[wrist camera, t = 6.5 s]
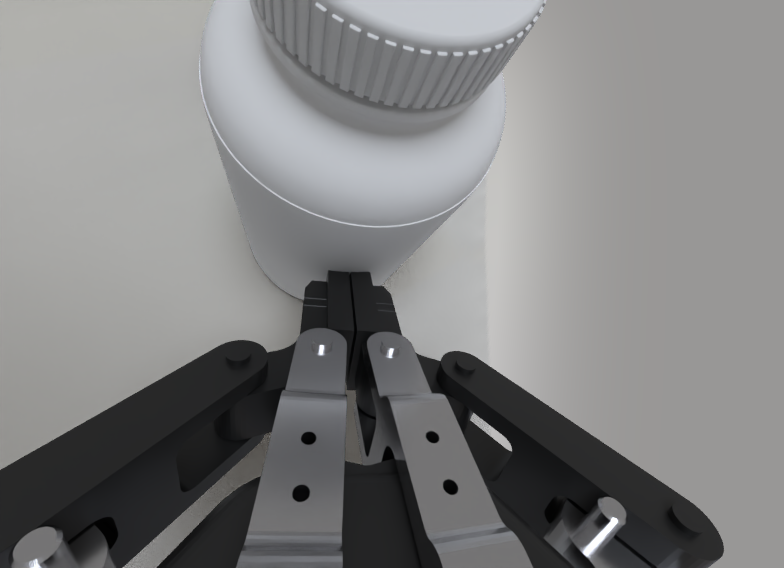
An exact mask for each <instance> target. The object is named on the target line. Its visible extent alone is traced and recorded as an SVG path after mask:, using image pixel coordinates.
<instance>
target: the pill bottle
mask: <svg viewBox="0 0 784 568" xmlns="http://www.w3.org/2000/svg"><path fill="white" fill-rule="evenodd" d="M546 1H547V0H215V1H214V3H213V5H212V7H211V9H210V12H209V14H208V17H207V20H206V23H205V27H204V31H203V36H202V42H201V51H200V59H199V79H200V87H201V93H202V98H203V102H204V106H205V110H206V114H207V117H208V120H209V123H210V127H211V130H212V133H213V136H214V139H215V142H216V145H217V148H218V151H219V154H220V157H221V160H222V163H223V166H224V169H225V172H226V175H227V178H228V181H229V184H230V187H231V190H232V193H233V196H234V199H235V202H236V205H237V208H238V211H239V214H240V217H241V220H242V223H243V226H244V229H245V232H246V235H247V238H248V241H249V244H250V247H251V250H252V253H253V255H254V257H255V259H256V261H257V263H258V264H259V266H260V267H261V269H262V270H263V272H264V273H265V274H266V275H267V276H268V278H269V279H270V280H271V281H272V282H273V283H274V284H276V285H277V286H278V287H279V288H281V289H282V290H283V291H285V292H287V293H288V294H290V295H292V296H294V297H296V298H299V299H301V300H304V292H305V287H306V286H307V285H308V284H309V283H310V282H311V281H312V280H314V281H325V282H326V278H327V273H328V270H331V271H341V272H349V275H350V273H351V272H370V273H371V278H372V283H373V286H381V285H382V284H383V283H384V282H385V281H386V280H387V279H388V278H389V277H390V276H391V275H392V274H393V273H394V272H395V271H396V270H397V269H398V268H399V267H400V266H401V265H402V264H403V263H404V262H405V261H406V260H407V259H408V258H409V257H410V256H411V255H412V254H413V253H414V252H415V251H416V250H417V249H418V248H419V247H420V246H421V245H422V244H423V243H424V242H425V241H426V240H427V239H428V238H429V237H430V236H431V235H432V234H433V233H434V232H435V231H436V230H437V229H438V228H439V227H440V226H441V225H442V224H443V223H444V222H445V221H446V220H447V219H448V218H449V217H450V216H451V215H452V214H453V213H454V212H455V211H456V210H457V209H458V208H459V207H460V206H461V205H462V204H463V203H464V202H465V201H466V199H467V198H468V197H469V196H470V195H471V194H472V193H473V192H474V191H475V189H476V188H477V187H478V186H479V184H480V183H481V182H482V180H483V179H484V177H485V176H486V174H487V172H488V170H489V169H490V167H491V165H492V162H493V160H494V157H495V154H496V152H497V149H498V147H499V144H500V140H501V137H502V133H503V128H504V122H505V113H506V94H505V85H504V79H503V74H502V70H503V68H504V67H505V65H506V64H507V63H508V61H509V60H510V58H511V57H512V56H513V54H514V53H515V51H516V50H517V49H518V47H519V46H520V44H521V43H522V41H523V40H524V39H525V37H526V36H527V34H528V33H529V31H530V30H531V29H532V27H533V26H534V24H535V23H536V21H537V19H538V18H539V16H540V15H541V13H542V11H543V7H544V6H545V4H546Z"/></svg>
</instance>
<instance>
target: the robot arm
mask: <svg viewBox="0 0 784 568" xmlns="http://www.w3.org/2000/svg"><path fill="white" fill-rule="evenodd" d="M345 382H346V385H347V390H356V401H355V406H354V416H355V422H356V428H357V434H358V440H359V446H360V453H361V459H362V465H360V464H355V463H351V462H347V461H345V438H346V412H347V395H345ZM473 413H475V414H476V415H477V416H479V417H480V418H481V419H483V420H484V421H485V422H486V423H488V424H489V425H490V426H492V427H493V428H494V429H495V430H497V431H498V432H499V433H501V434H502V435H503V436H504V437H506V438H507V440H508V441H509V442H510V444H511V446H512V452H511V451H509V450H507V449H505V448H504V447H503V446H502V445H501V444H499V443H498V442H497V441H495V440H494V439H493V438H492V437H490V436H489V435H488V434H487V433H485V432H484V431H483V430H482V429H480V428H479V427H478V426H477V425H475V424H474V423H473V422H471V421H470V419H471V416H472V414H473ZM269 432H272V433H271V438H270V442H269V446H268V450H267V454H266V458H265V462H264V466H263V471H262V475H261V476H260V477H258V478H256V479H254V480H252V481H250V482H248V483H246V484H244V485H243V486H241V487H240V488H238V489H237V490H235V491H234V492H232V493H231V494H230V495H229V496H227V497H226V498H225V499H224V500H222V501H221V502H220V503H219V504H218V505H217V506H216V507H215V508H214V509H213V510H212V511H211V512H210V513H209V514H208V515H207V516H206V517H205V519H204V520H203V521H202V522H201V523H200V524H199V525H198V526H197V527H196V528H195V529H194V530H193V531H192V532H191V533H190V534H189V535H188V536H187V537H186V538H185V539H184V540H183V541H182V542H181V543H180V544H179V545H178V546H177V547H176V548H175V549H174V550H173V551H172V552H171V553H170V554H169V555H168V557H167V558H166V559H165V560H164V561H163V562H162V563H161V564H160V565H159V566H158V567H157V568H708V567H709V566H711V565H712V564H713V563H714V562H716V561H717V560H718V559H720V558H721V557H722V555H723V552H724V546H723V542H722V539H721V537H720V535H719V533H718V531H717V529H716V528H715V526H714V525H713V523H712V522H711V521H710V520H709V519H708V517H707V516H706V515H705V514H704V513H703V512H702V511H701V510H700V509H699V508H697V507H696V506H695V505H694V504H693V503H691V502H690V501H689V500H687V499H685V498H684V497H683V496H681V495H680V494H678V493H677V492H675V491H674V490H672V489H671V488H669V487H668V486H666V485H665V484H663V483H662V482H660V481H659V480H657V479H656V478H654V477H653V476H652V475H650V474H649V473H647V472H646V471H644V470H643V469H641V468H640V467H638V466H637V465H635V464H633V463H632V462H631V461H629V460H628V459H626V458H625V457H623V456H622V455H620V454H619V453H617V452H616V451H614V450H613V449H611V448H610V447H609V446H607V445H605V444H604V443H602V442H601V441H600V440H598V439H597V438H595V437H594V436H592V435H591V434H589V433H588V432H586V431H585V430H583V429H582V428H580V427H579V426H577V425H576V424H574V423H573V422H571V421H570V420H568V419H567V418H565V417H564V416H563V415H561V414H559V413H558V412H557V411H555V410H554V409H552V408H551V407H549V406H548V405H546V404H545V403H543V402H542V401H540V400H539V399H537V398H536V397H534V396H533V395H531V394H530V393H528V392H527V391H525V390H524V389H522V388H521V387H519V386H518V385H516V384H515V383H514V382H512V381H511V380H509V379H508V378H506V377H504V376H503V375H501V374H500V373H499V372H497V371H496V370H494V369H493V368H491V367H490V366H488V365H487V364H485V363H484V362H482V361H481V360H479V359H478V358H476V357H475V356H473V355H471V354H468V353H465V352H460V351H452V352H448V353H446V354H445V355H444V356H443V357H442V359H441V361H438V360H434V359H431V358H427V357H424V356H421V355H419V354H417V353H415V350H414V348H413V346H412V344H411V343H410V341H409V340H408V339H406V338H405V337H403V336H402V334H401V330H400V326H399V323H398V319H397V315H396V312H395V308H394V305H393V301H392V297H391V294H390V293H389V292H388V291H387V290H386V289H385V288H384V287H383V286H373V283H372V278H371V273H370V272H351V273H350V275H349V272H341V271H331V270H328V273H327V278H326V282H325V281H314V280H312V281H311V282H310V283H309V284H308V285H307V286H306V287H305V292H304V302H303V312H302V322H301V331H300V336H299V337H298V339H297V341H296V342H295V343H294V344H293V345H291V346H289V347H287V348H285V349H282V350H279V351H274V352H268V353H267V351H266V350H265V348H264V347H263V346H261V345H260V344H258V343H255V342H252V341H246V340H237V341H231V342H227V343H224V344H222V345H220V346H218V347H216V348H215V349H213V350H211V351H209V352H208V353H206V354H204V355H202V356H200V357H199V358H197V359H195V360H193V361H192V362H190V363H188V364H186V365H185V366H183V367H181V368H179V369H178V370H176V371H174V372H172V373H171V374H169V375H167V376H165V377H163V378H162V379H160V380H158V381H156V382H155V383H153V384H151V385H149V386H148V387H146V388H144V389H142V390H141V391H139V392H137V393H135V394H134V395H132V396H130V397H128V398H126V399H125V400H123V401H121V402H119V403H118V404H116V405H114V406H112V407H111V408H109V409H107V410H105V411H104V412H102V413H100V414H98V415H96V416H95V417H93V418H91V419H89V420H88V421H86V422H84V423H82V424H81V425H79V426H77V427H75V428H74V429H72V430H70V431H68V432H67V433H65V434H63V435H61V436H59V437H58V438H56V439H54V440H52V441H51V442H49V443H47V444H45V445H44V446H42V447H40V448H38V449H37V450H35V451H33V452H31V453H29V454H28V455H26V456H24V457H22V458H21V459H19V460H17V461H15V462H14V463H12V464H10V465H8V466H7V467H5V468H3V469H1V470H0V568H122V567H124V566H125V565H126V564H127V563H128V562H129V561H130V560H131V559H132V558H133V557H135V556H136V555H137V554H138V553H139V552H140V551H141V550H142V549H143V548H144V547H146V546H147V545H148V544H149V543H150V542H151V541H152V540H153V539H154V538H155V537H157V536H158V535H159V534H160V533H161V532H162V531H163V530H164V529H165V528H166V527H168V526H169V525H170V524H171V523H172V522H173V521H174V520H175V519H176V518H177V517H179V516H180V515H181V514H182V513H183V512H184V511H185V510H186V509H187V508H188V507H190V506H191V505H192V504H193V503H194V502H195V501H196V500H197V499H198V498H199V497H201V496H202V495H203V494H204V493H205V492H206V491H207V490H208V489H209V488H210V487H212V486H213V485H214V484H215V483H216V482H217V481H218V480H219V479H220V478H221V477H223V476H224V475H225V474H226V473H227V472H228V471H229V470H230V469H231V468H232V467H233V466H235V465H236V464H237V463H238V462H239V461H240V460H241V459H242V458H243V457H244V456H246V455H247V454H248V453H249V452H250V451H251V450H252V449H253V448H254V447H255V446H257V445H258V444H259V443H260V442H261V440H262V439H263V437H264V435H265V433H269Z"/></svg>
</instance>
